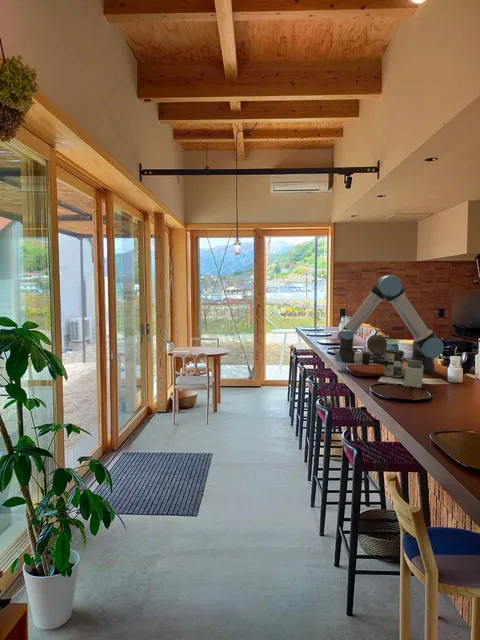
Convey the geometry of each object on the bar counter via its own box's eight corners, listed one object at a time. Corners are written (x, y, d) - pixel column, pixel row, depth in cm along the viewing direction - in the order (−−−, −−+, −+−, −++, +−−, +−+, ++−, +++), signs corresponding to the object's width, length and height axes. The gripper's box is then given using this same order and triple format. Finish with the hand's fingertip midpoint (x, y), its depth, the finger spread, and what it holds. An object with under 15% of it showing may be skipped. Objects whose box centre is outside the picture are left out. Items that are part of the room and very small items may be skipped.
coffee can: (402, 374, 257) (404, 350, 255) (402, 377, 247) (404, 352, 246) (383, 372, 260) (385, 348, 259) (382, 375, 251) (384, 350, 249)
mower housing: (377, 382, 233) (379, 359, 232) (381, 377, 247) (382, 355, 246) (421, 387, 224) (422, 364, 223) (422, 381, 239) (423, 359, 238)
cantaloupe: (386, 354, 330) (387, 334, 329) (386, 357, 317) (387, 336, 316) (366, 353, 335) (367, 333, 333) (365, 355, 321) (367, 335, 320)
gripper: (365, 361, 271) (402, 365, 263) (358, 368, 249) (398, 372, 240) (366, 349, 271) (403, 352, 262) (359, 354, 248) (399, 358, 239)
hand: (401, 362), depth 251 cm, fingers open, 13 cm apart
